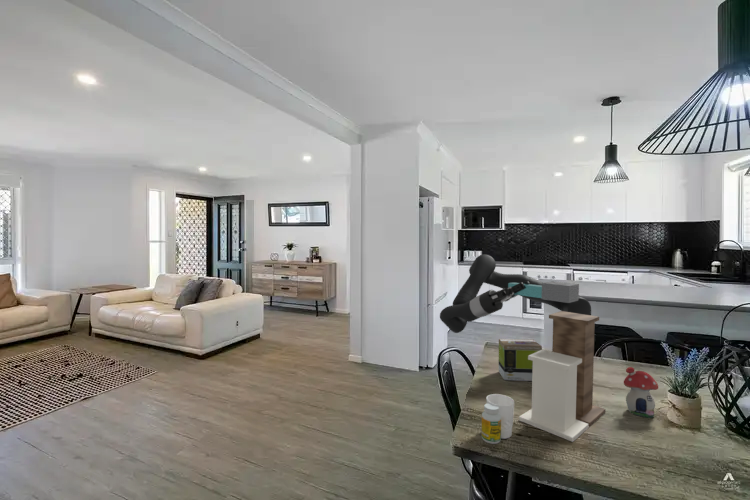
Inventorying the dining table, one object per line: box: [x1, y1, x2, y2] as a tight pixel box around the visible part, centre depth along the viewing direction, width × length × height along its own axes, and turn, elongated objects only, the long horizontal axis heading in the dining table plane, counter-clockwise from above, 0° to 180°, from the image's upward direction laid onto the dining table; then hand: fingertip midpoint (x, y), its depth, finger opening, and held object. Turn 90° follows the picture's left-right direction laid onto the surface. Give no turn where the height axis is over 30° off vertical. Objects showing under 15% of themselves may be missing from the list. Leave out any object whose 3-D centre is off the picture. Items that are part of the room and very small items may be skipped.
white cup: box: [485, 393, 515, 439], centre depth 108 cm, size 8×8×10 cm
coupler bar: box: [508, 281, 580, 303], centre depth 116 cm, size 20×7×5 cm, turn 41°
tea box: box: [498, 338, 543, 382], centre depth 152 cm, size 15×10×15 cm, turn 84°
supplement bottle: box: [481, 403, 502, 445], centre depth 104 cm, size 5×5×10 cm
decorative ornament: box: [623, 366, 659, 419], centre depth 121 cm, size 9×6×15 cm
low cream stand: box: [518, 349, 589, 443], centre depth 113 cm, size 16×12×21 cm
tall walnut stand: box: [548, 310, 606, 427], centre depth 122 cm, size 16×14×32 cm
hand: (526, 284), depth 119 cm, fingers closed on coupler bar, 3 cm apart
